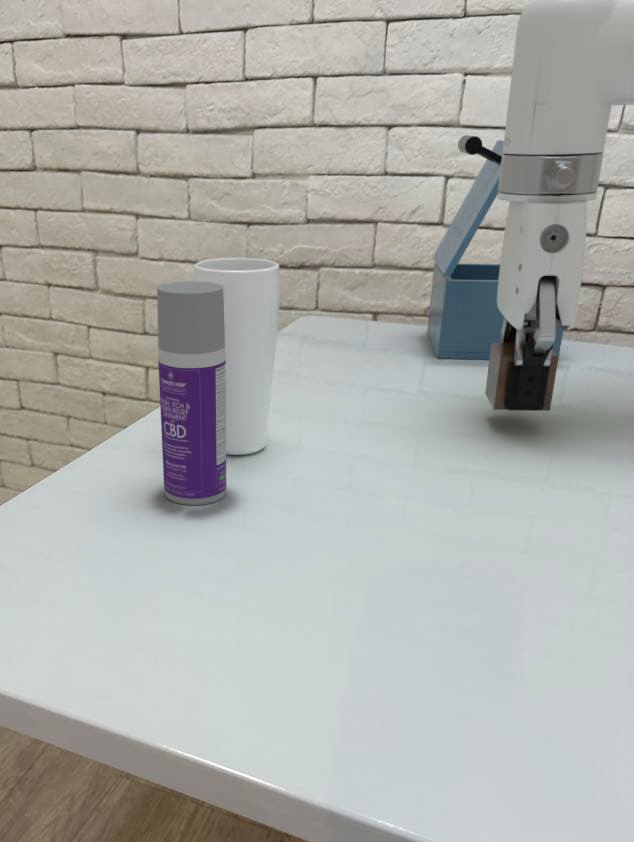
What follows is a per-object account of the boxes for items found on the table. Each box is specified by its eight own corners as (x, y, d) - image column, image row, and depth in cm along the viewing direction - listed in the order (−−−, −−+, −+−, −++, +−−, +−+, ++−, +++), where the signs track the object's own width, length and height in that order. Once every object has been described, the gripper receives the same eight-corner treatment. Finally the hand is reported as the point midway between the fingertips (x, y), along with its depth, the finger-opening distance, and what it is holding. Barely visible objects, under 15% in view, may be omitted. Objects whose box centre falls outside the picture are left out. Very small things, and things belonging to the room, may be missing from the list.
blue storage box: (534, 335, 105) (546, 264, 101) (557, 361, 94) (572, 282, 90) (427, 333, 107) (434, 263, 103) (437, 358, 96) (446, 280, 92)
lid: (503, 143, 96) (464, 122, 95) (525, 146, 85) (481, 122, 84) (437, 260, 102) (401, 241, 102) (449, 277, 91) (408, 257, 91)
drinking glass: (183, 454, 69) (178, 267, 62) (215, 428, 74) (213, 255, 67) (259, 465, 66) (262, 273, 59) (286, 438, 72) (291, 260, 65)
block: (538, 394, 76) (546, 342, 73) (550, 410, 71) (559, 356, 69) (484, 393, 76) (491, 342, 74) (493, 410, 72) (500, 356, 70)
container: (157, 503, 60) (147, 292, 53) (172, 478, 64) (164, 280, 57) (220, 507, 59) (218, 294, 52) (231, 482, 63) (230, 281, 56)
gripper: (631, 186, 57) (585, 432, 66) (570, 171, 72) (539, 373, 81) (520, 188, 58) (489, 431, 67) (483, 173, 73) (461, 372, 82)
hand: (517, 397), depth 74 cm, fingers closed on block, 4 cm apart
